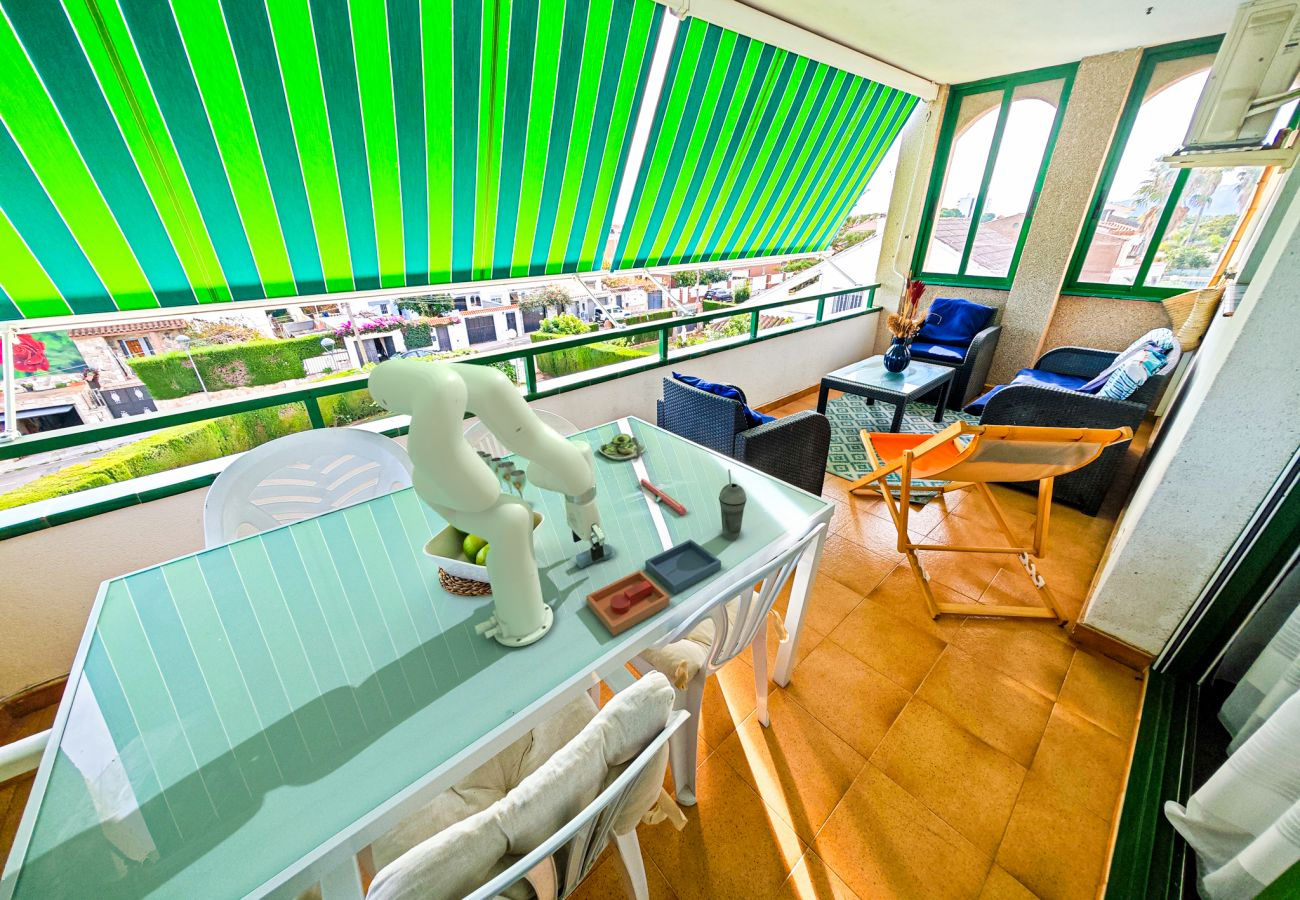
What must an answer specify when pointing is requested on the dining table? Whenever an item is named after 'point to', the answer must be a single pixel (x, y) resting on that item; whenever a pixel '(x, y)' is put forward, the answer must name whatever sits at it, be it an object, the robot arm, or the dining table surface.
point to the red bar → (665, 497)
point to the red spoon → (630, 598)
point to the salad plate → (622, 448)
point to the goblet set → (505, 472)
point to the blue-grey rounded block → (585, 558)
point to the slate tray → (682, 566)
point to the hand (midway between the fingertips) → (588, 549)
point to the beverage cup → (732, 509)
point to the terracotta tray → (637, 612)
